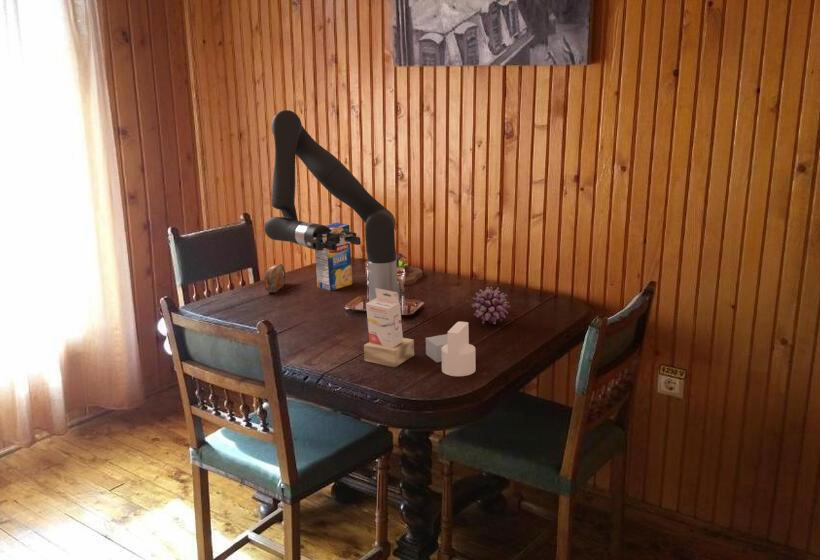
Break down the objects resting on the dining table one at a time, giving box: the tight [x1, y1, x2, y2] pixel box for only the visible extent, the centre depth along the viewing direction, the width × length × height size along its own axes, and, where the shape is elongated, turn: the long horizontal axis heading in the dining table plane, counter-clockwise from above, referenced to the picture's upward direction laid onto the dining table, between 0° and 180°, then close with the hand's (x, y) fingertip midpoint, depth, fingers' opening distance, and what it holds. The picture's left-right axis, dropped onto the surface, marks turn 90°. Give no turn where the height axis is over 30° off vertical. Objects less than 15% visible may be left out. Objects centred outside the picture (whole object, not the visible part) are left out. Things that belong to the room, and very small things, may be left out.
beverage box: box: [314, 222, 353, 292], centre depth 293 cm, size 7×11×22 cm, turn 137°
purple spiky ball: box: [471, 286, 511, 325], centre depth 250 cm, size 12×12×12 cm
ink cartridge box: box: [365, 288, 404, 348], centre depth 223 cm, size 9×5×15 cm, turn 54°
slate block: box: [425, 333, 448, 363], centre depth 226 cm, size 7×7×5 cm
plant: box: [396, 253, 424, 286], centre depth 302 cm, size 20×20×11 cm
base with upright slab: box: [441, 321, 477, 377], centre depth 216 cm, size 9×9×12 cm
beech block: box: [363, 337, 415, 368], centre depth 226 cm, size 10×10×5 cm
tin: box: [263, 263, 286, 293], centre depth 293 cm, size 15×3×8 cm, turn 168°
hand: (347, 244), depth 230 cm, fingers open, 8 cm apart
